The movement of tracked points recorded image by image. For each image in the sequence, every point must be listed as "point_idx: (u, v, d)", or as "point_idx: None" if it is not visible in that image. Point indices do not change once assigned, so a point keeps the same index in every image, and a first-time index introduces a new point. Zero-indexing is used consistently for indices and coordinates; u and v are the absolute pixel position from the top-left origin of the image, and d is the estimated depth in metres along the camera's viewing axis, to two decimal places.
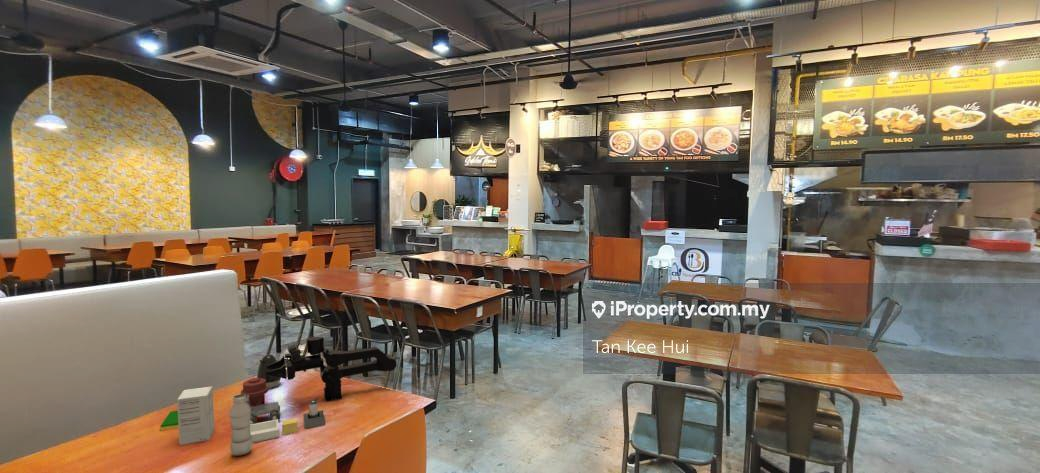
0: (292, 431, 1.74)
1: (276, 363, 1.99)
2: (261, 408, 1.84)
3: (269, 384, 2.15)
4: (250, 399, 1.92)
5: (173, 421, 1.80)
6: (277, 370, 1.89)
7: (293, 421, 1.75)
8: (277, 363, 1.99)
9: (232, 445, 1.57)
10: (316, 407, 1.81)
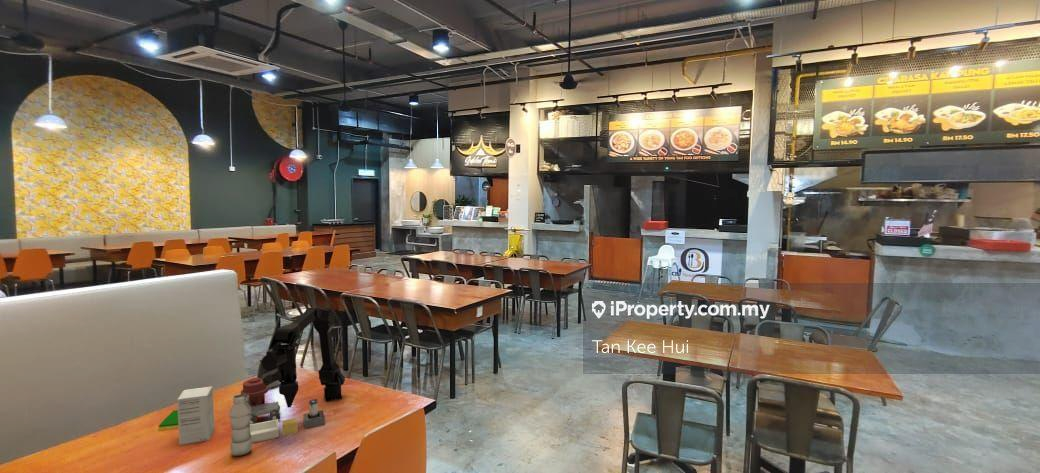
0: (292, 431, 1.74)
1: None
2: (261, 408, 1.84)
3: (269, 384, 2.15)
4: (250, 399, 1.92)
5: (171, 421, 1.80)
6: (286, 398, 1.69)
7: (293, 421, 1.75)
8: None
9: (232, 445, 1.57)
10: (316, 407, 1.81)
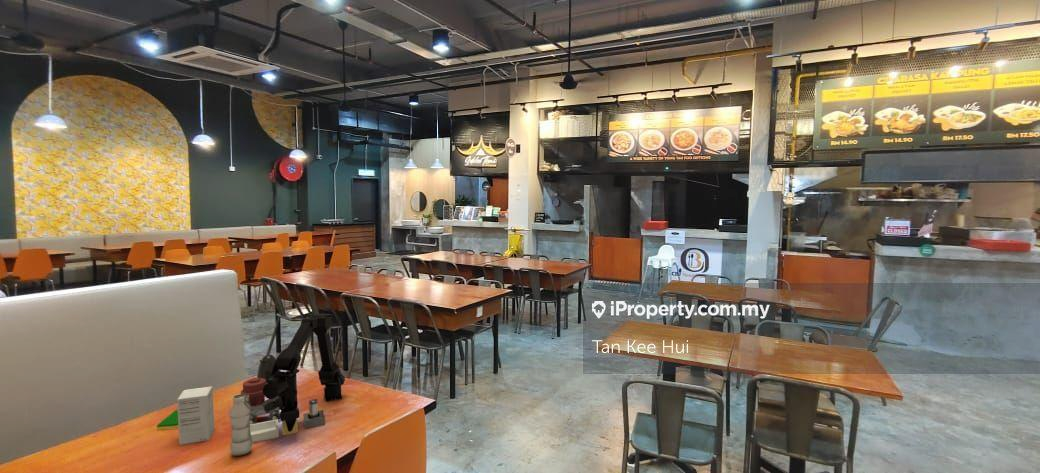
0: (292, 431, 1.74)
1: None
2: (261, 408, 1.84)
3: None
4: (250, 399, 1.92)
5: (170, 421, 1.79)
6: (287, 422, 1.71)
7: None
8: None
9: (232, 445, 1.57)
10: (316, 407, 1.81)
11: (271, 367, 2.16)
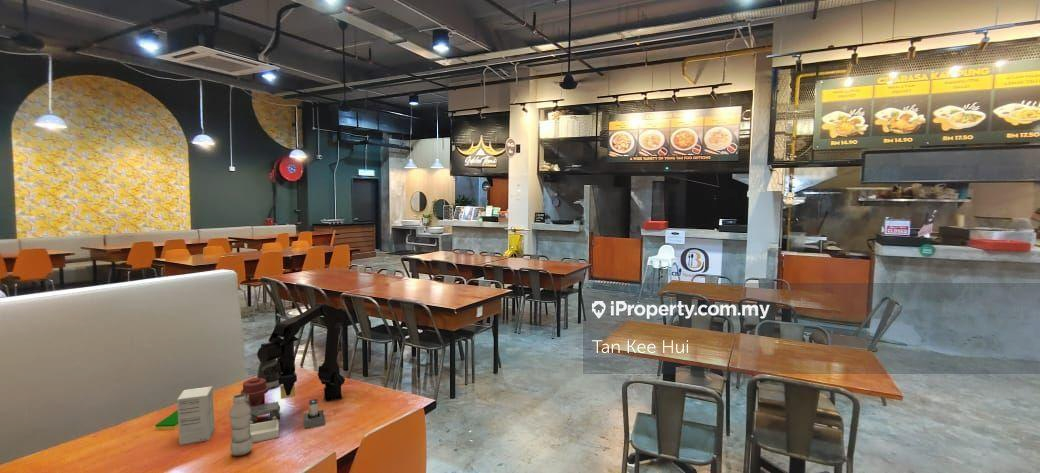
0: (290, 395, 1.83)
1: None
2: (261, 408, 1.84)
3: (269, 384, 2.15)
4: (250, 399, 1.92)
5: (169, 421, 1.79)
6: (285, 387, 1.81)
7: None
8: None
9: (232, 445, 1.57)
10: (316, 407, 1.81)
11: None
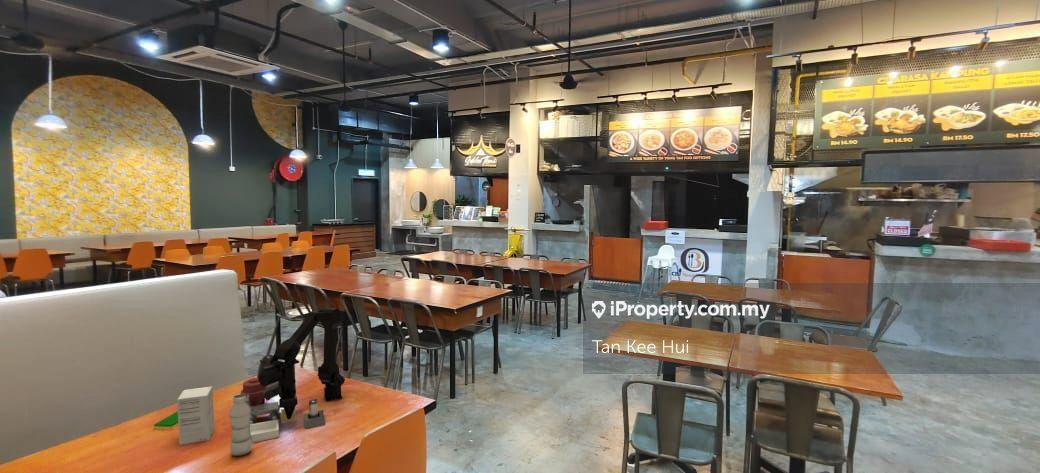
0: (291, 419, 1.84)
1: None
2: (261, 408, 1.84)
3: None
4: (250, 399, 1.92)
5: (167, 421, 1.79)
6: (286, 410, 1.80)
7: None
8: None
9: (232, 445, 1.57)
10: (316, 407, 1.81)
11: None
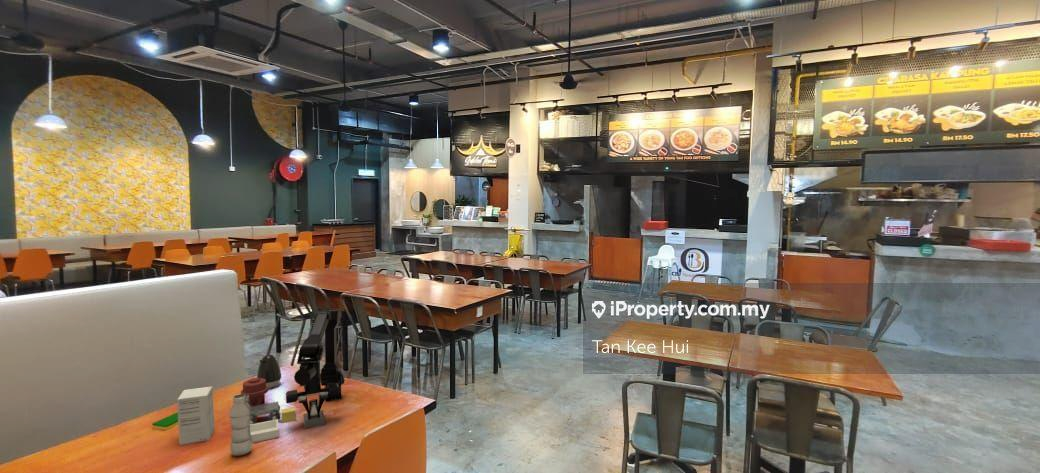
0: (291, 419, 1.84)
1: (318, 403, 1.83)
2: (261, 408, 1.84)
3: (269, 384, 2.15)
4: (250, 399, 1.92)
5: (165, 421, 1.79)
6: None
7: (292, 410, 1.84)
8: (318, 402, 1.83)
9: (232, 445, 1.57)
10: (316, 407, 1.81)
11: (271, 367, 2.16)
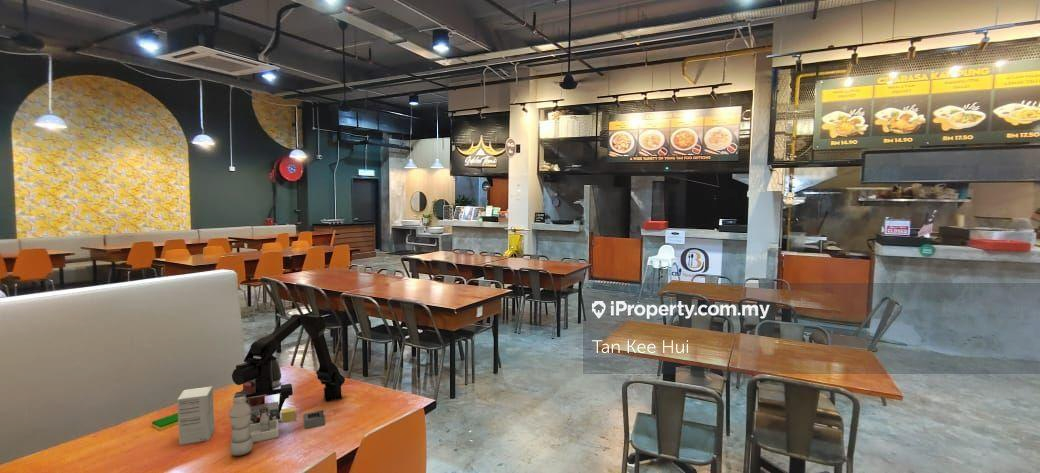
0: (290, 419, 1.84)
1: None
2: None
3: None
4: (250, 399, 1.92)
5: (163, 421, 1.80)
6: None
7: (291, 410, 1.84)
8: None
9: (232, 445, 1.57)
10: (267, 415, 1.73)
11: None
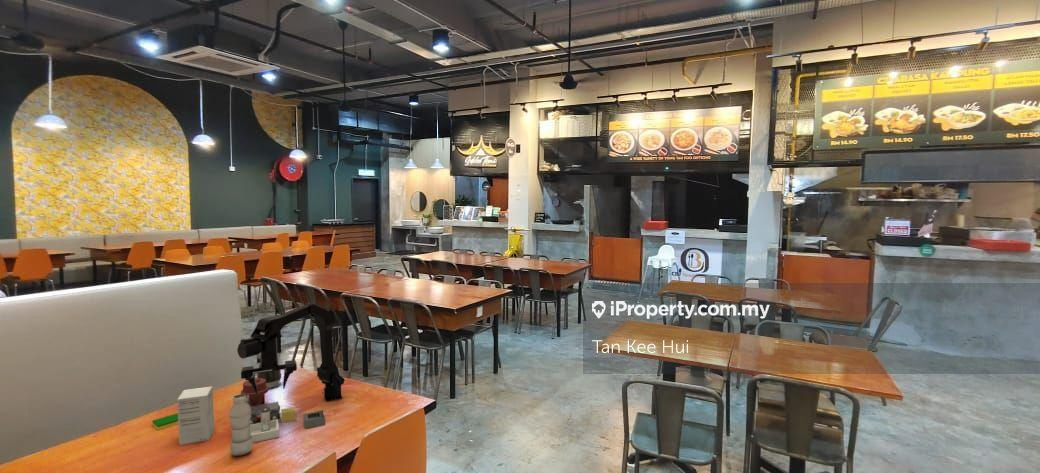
0: (290, 419, 1.84)
1: None
2: None
3: (269, 384, 2.15)
4: (250, 399, 1.92)
5: (162, 420, 1.80)
6: None
7: (292, 410, 1.84)
8: None
9: (232, 445, 1.57)
10: (268, 415, 1.73)
11: None
